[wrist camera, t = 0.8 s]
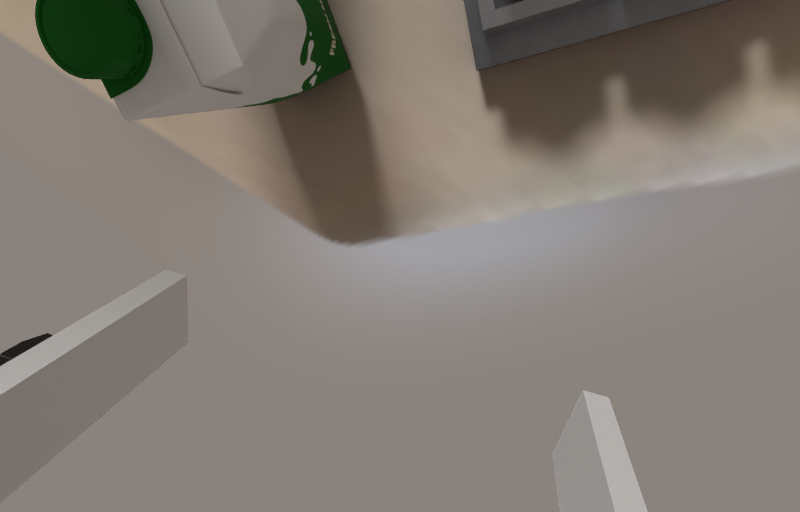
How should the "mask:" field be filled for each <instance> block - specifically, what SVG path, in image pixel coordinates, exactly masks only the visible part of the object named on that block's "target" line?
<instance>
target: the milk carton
mask: <svg viewBox="0 0 800 512" xmlns="http://www.w3.org/2000/svg"><path fill="white" fill-rule="evenodd" d="M35 18H36V25H37V30H38V33H39V36H40V39H41V41H42V43H43V45H44V47H45V49H46V51H47V52H48V54H49V55H50V57H51V58H52V59H53V60H54V61H55V63H56V64H57V65H58V66H60V67H61V68H62V69H63V70H65V71H66V72H68V73H69V74H71V75H73V76H76V77H79V78H83V79H101V80H102V82H103V84H104V86H105V88H106V90H107V92H108V94H109V96H110V98H114V100H115V102H116V104H117V106H118V108H119V110H120V112H121V114H122V116H123V117H124V119H125V120H126V121H132V120H138V119H145V118H154V117H162V116H170V115H178V114H187V113H195V112H205V111H214V110H223V109H231V108H239V107H247V106H255V105H264V104H271V103H276V102H279V101H282V100H285V99H287V98H290V97H293V96H295V95H298V94H300V93H303V92H305V91H307V90H309V89H311V88H313V87H315V86H317V85H319V84H321V83H323V82H325V81H327V80H329V79H331V78H332V77H334V76H336V75H338V74H340V73H342V72H344V71H346V70H348V69H350V68H351V66H350V63H349V60H348V58H347V55H346V52H345V49H344V47H343V44H342V41H341V38H340V36H339V33H338V30H337V27H336V25H335V22H334V19H333V16H332V14H331V11H330V8H329V5H328V3H327V0H37V2H36V9H35Z"/></svg>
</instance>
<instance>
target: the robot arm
mask: <svg viewBox="0 0 800 512" xmlns="http://www.w3.org/2000/svg"><path fill="white" fill-rule="evenodd" d="M187 342H188V310H187V276H186V275H183V274H180V273H176V272H173V271H169V270H165V271H163V272H161V273H160V274H158V275H156V276H154V277H153V278H151V279H149V280H148V281H146V282H144V283H142V284H141V285H139V286H137V287H135V288H134V289H132V290H130V291H129V292H127V293H125V294H123V295H122V296H120V297H118V298H117V299H115V300H113V301H111V302H110V303H108V304H106V305H105V306H103V307H101V308H99V309H98V310H96V311H94V312H93V313H91V314H89V315H87V316H86V317H84V318H82V319H81V320H79V321H77V322H75V323H74V324H72V325H70V326H69V327H67V328H65V329H63V330H62V331H60V332H58V333H56V334H55V335H51V334H48V333H47V334H44V335H41V336H38V337H35V338H32V339H29V340H26V341H23V342H21V343H19V344H17V345H16V346H14V347H12V348H10V349H8V350H7V351H5V352H3V353H1V355H0V503H1V502H2V501H3V500H4V499H6V498H7V497H8V496H9V495H10V494H11V493H13V491H15V490H16V489H17V488H18V487H20V485H22V484H23V483H24V482H25V481H26V480H28V479H29V478H30V477H31V476H32V475H34V474H35V473H36V472H37V471H38V470H39V469H41V468H42V467H43V466H44V465H45V464H46V463H48V462H49V461H50V460H51V459H52V458H53V457H55V456H56V455H57V454H58V453H59V452H60V451H61V450H63V449H64V448H65V447H66V446H67V445H69V444H70V443H71V442H72V441H73V440H74V439H76V438H77V437H78V436H79V435H80V434H81V433H83V432H84V431H85V430H86V429H87V428H88V427H90V426H91V425H92V424H93V423H94V422H95V421H97V419H99V418H100V417H101V416H102V415H104V414H105V413H106V412H107V411H108V410H109V409H111V408H112V407H113V406H114V405H115V404H116V403H117V402H119V401H120V400H121V399H122V398H123V397H125V396H126V395H127V394H128V393H129V392H130V391H132V390H133V389H134V388H135V387H136V386H137V385H139V384H140V383H141V382H142V381H143V380H144V379H146V378H147V377H148V376H149V375H150V374H151V373H153V372H154V371H155V370H156V369H157V368H158V367H160V366H161V365H162V364H163V363H164V362H165V361H167V360H168V359H169V358H170V357H171V356H172V355H174V354H175V353H176V352H177V351H178V350H179V349H181V348H182V347H183V346H184V345H185V344H186V343H187ZM552 457H553V465H554V473H555V480H556V487H557V494H558V501H559V508H560V512H647V509H646V506H645V503H644V500H643V497H642V494H641V491H640V488H639V485H638V482H637V479H636V477H635V473H634V471H633V468H632V465H631V462H630V459H629V456H628V453H627V450H626V447H625V444H624V441H623V438H622V435H621V432H620V429H619V427H618V424H617V420H616V418H615V415H614V412H613V409H612V406H611V403H610V400H609V398H608V397H605V396H601V395H598V394H594V393H591V392H587V391H584V390H583V391H582V393H581V395H580V397H579V399H578V401H577V403H576V405H575V407H574V409H573V412H572V414H571V416H570V418H569V420H568V422H567V424H566V426H565V428H564V431H563V432H562V435H561V437H560V439H559V441H558V443H557V445H556V447H555V449H554V451H553V453H552Z"/></svg>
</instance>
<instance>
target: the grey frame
mask: <svg viewBox="0 0 800 512" xmlns="http://www.w3.org/2000/svg"><path fill="white" fill-rule="evenodd" d="M726 1H730V0H464V3H465V8H466V14H467V20H468V25H469V31H470V36H471V42H472V47H473V53H474V58H475V64H476V69H477V70H478V71H479V70H482V69H486V68H489V67H493V66H497V65H500V64H504V63H507V62H511V61H515V60H518V59H522V58H525V57H529V56H532V55H536V54H540V53H543V52H547V51H550V50H554V49H558V48H561V47H565V46H568V45H572V44H576V43H579V42H583V41H586V40H590V39H593V38H597V37H601V36H604V35H608V34H611V33H615V32H619V31H622V30H626V29H629V28H633V27H637V26H640V25H644V24H647V23H651V22H654V21H658V20H662V19H665V18H669V17H672V16H676V15H680V14H683V13H687V12H690V11H694V10H698V9H701V8H705V7H708V6H712V5H715V4H719V3H723V2H726Z"/></svg>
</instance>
